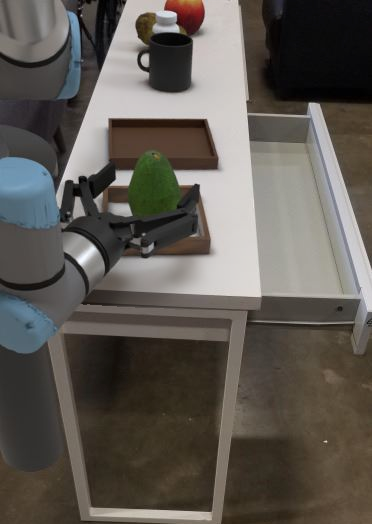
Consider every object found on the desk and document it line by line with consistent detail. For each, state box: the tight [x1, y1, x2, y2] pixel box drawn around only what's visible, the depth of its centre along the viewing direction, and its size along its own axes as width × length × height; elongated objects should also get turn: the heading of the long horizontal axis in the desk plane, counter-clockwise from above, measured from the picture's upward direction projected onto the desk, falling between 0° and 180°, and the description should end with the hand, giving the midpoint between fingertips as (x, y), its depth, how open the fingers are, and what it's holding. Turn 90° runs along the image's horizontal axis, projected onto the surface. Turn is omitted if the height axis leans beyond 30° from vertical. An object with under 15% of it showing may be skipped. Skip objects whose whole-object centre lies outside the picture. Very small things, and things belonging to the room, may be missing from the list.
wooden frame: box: [102, 184, 212, 256], centre depth 89 cm, size 16×16×2 cm
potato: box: [134, 11, 187, 46], centre depth 141 cm, size 8×13×8 cm, turn 94°
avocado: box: [127, 150, 181, 217], centre depth 86 cm, size 8×8×12 cm
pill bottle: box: [152, 10, 180, 35], centre depth 132 cm, size 6×6×11 cm
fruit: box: [163, 0, 206, 36], centre depth 150 cm, size 11×11×10 cm
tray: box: [107, 117, 220, 170], centre depth 107 cm, size 19×16×2 cm
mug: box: [136, 32, 194, 93], centre depth 126 cm, size 9×12×9 cm
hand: (154, 181), depth 85 cm, fingers open, 13 cm apart
